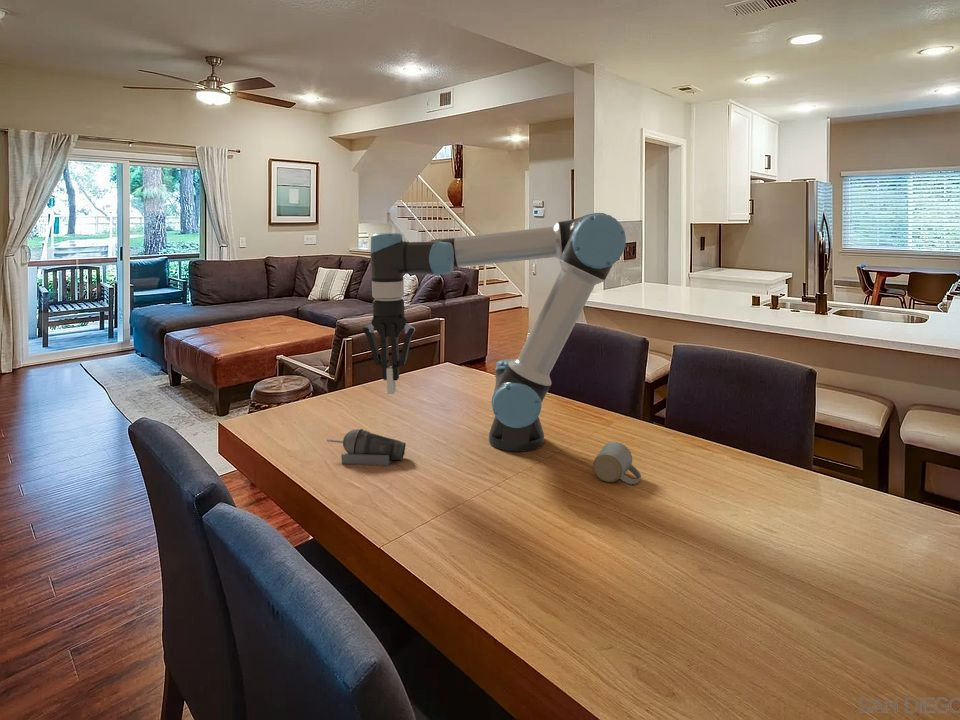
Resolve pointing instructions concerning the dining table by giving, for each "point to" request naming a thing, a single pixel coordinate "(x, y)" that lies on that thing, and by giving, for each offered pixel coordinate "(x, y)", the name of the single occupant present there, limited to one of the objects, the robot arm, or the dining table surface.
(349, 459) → the cradle
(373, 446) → the beverage cup
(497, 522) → the dining table surface
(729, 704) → the dining table surface
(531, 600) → the dining table surface
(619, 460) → the ceramic mug
